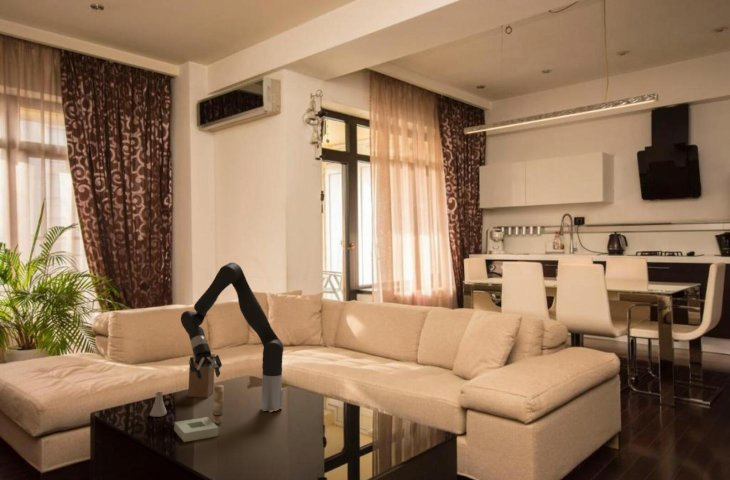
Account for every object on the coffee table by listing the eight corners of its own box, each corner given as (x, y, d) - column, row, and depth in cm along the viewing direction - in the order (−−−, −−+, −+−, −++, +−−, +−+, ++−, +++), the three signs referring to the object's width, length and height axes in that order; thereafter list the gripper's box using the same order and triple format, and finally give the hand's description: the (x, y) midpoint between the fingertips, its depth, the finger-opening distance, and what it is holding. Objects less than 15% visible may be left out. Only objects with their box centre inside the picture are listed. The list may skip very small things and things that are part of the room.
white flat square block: (206, 424, 237) (207, 416, 237) (218, 435, 226) (218, 427, 226) (174, 430, 229) (174, 422, 229) (184, 441, 218) (184, 433, 218)
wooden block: (207, 398, 273) (209, 358, 272) (187, 397, 273) (189, 357, 273) (213, 392, 283) (215, 354, 282) (194, 391, 283) (196, 352, 283)
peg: (220, 420, 244) (221, 384, 243) (223, 423, 240) (225, 387, 240) (211, 421, 241) (212, 385, 241) (214, 424, 238) (216, 388, 238)
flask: (160, 418, 242) (161, 395, 242) (146, 416, 244) (147, 394, 244) (169, 413, 249) (170, 391, 249) (155, 411, 251) (156, 389, 251)
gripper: (188, 344, 250) (197, 375, 242) (217, 341, 259) (226, 370, 251) (183, 353, 255) (191, 383, 246) (212, 350, 264) (221, 379, 255)
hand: (209, 377), depth 248 cm, fingers open, 8 cm apart
